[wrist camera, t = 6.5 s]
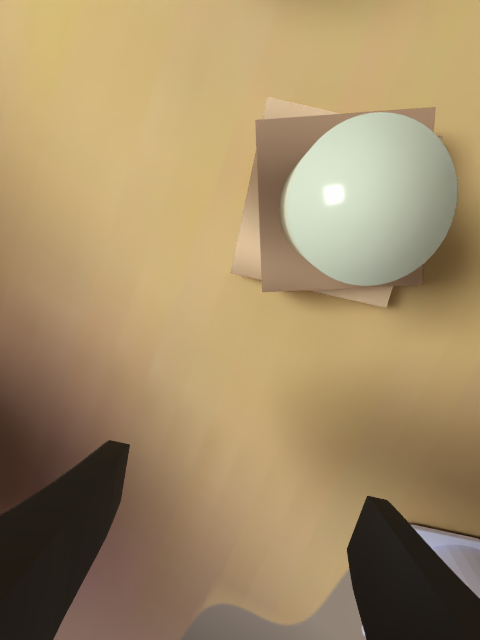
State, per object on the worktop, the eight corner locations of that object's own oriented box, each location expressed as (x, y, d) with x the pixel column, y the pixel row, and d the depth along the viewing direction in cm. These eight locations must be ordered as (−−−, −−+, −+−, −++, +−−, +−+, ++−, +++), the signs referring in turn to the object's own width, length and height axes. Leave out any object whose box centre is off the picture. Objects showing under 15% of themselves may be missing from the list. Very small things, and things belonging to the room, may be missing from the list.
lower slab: (373, 299, 21) (386, 307, 19) (232, 268, 20) (230, 273, 18) (423, 145, 18) (442, 137, 16) (266, 109, 18) (267, 96, 16)
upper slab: (404, 277, 18) (422, 284, 16) (261, 284, 19) (262, 292, 17) (414, 120, 16) (435, 106, 14) (255, 131, 17) (255, 119, 15)
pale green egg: (383, 274, 16) (432, 295, 12) (270, 259, 16) (278, 274, 12) (412, 151, 15) (479, 124, 11) (289, 135, 15) (305, 100, 11)
